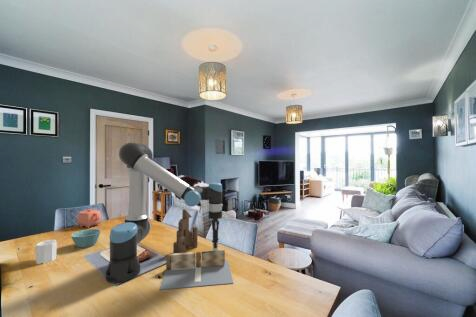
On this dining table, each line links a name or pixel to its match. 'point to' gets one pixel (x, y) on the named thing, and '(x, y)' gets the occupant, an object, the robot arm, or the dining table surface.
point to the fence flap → (213, 258)
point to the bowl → (86, 237)
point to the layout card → (197, 277)
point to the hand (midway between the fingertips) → (215, 252)
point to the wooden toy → (185, 234)
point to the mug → (45, 251)
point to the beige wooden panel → (183, 260)
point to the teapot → (89, 218)
